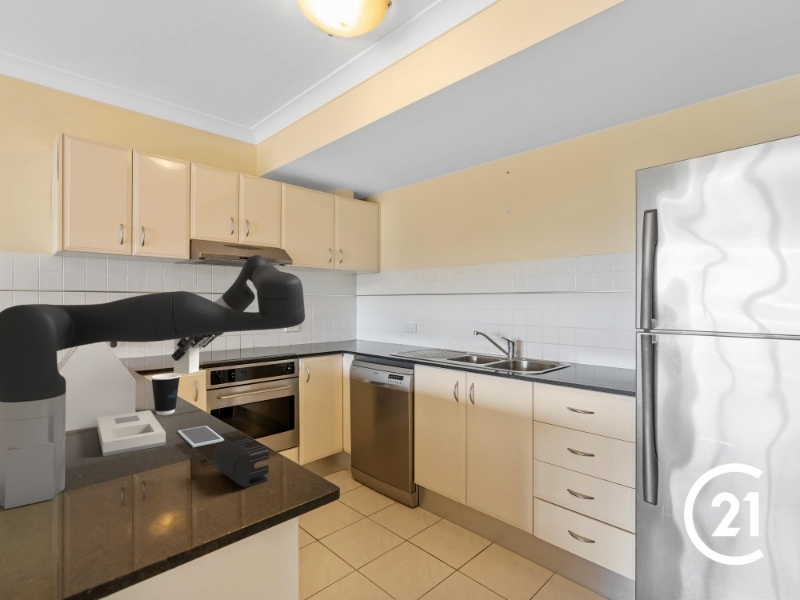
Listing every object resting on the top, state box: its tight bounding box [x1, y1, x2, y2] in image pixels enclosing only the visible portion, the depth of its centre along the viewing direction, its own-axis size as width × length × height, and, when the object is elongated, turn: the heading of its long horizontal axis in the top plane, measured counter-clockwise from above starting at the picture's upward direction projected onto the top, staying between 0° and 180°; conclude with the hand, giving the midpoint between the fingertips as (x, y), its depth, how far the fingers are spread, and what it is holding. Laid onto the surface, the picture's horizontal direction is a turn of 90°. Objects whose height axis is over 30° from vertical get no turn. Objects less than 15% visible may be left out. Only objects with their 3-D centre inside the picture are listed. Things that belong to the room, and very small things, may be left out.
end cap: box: [211, 438, 270, 489], centre depth 81 cm, size 10×7×7 cm
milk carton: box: [57, 342, 137, 432], centre depth 117 cm, size 19×15×25 cm
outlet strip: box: [96, 410, 167, 457], centre depth 105 cm, size 24×12×3 cm, turn 38°
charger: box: [173, 339, 200, 375], centre depth 118 cm, size 5×4×10 cm
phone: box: [177, 425, 225, 448], centre depth 105 cm, size 14×7×1 cm, turn 41°
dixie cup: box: [150, 373, 182, 416], centre depth 126 cm, size 8×8×11 cm
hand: (180, 357), depth 118 cm, fingers closed on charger, 4 cm apart
